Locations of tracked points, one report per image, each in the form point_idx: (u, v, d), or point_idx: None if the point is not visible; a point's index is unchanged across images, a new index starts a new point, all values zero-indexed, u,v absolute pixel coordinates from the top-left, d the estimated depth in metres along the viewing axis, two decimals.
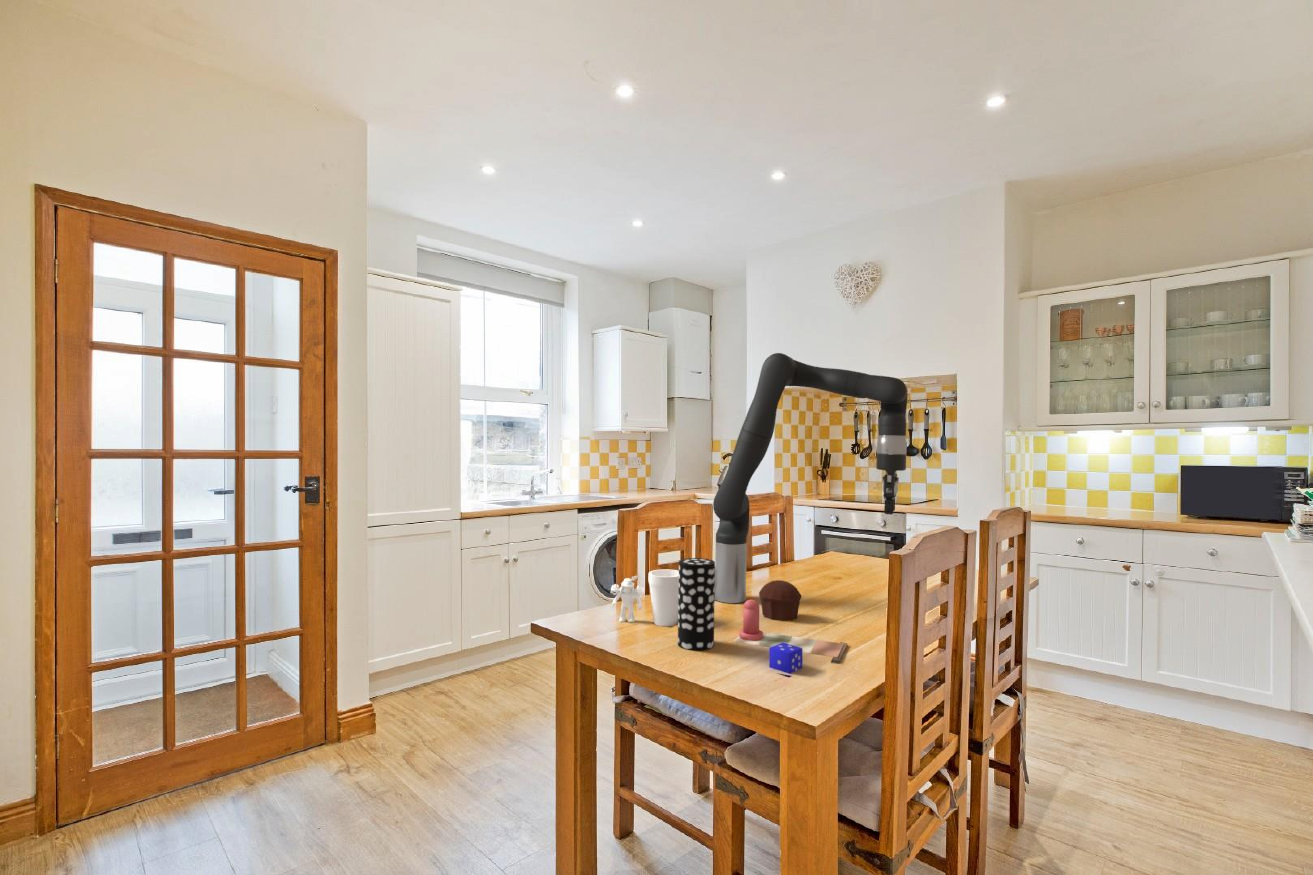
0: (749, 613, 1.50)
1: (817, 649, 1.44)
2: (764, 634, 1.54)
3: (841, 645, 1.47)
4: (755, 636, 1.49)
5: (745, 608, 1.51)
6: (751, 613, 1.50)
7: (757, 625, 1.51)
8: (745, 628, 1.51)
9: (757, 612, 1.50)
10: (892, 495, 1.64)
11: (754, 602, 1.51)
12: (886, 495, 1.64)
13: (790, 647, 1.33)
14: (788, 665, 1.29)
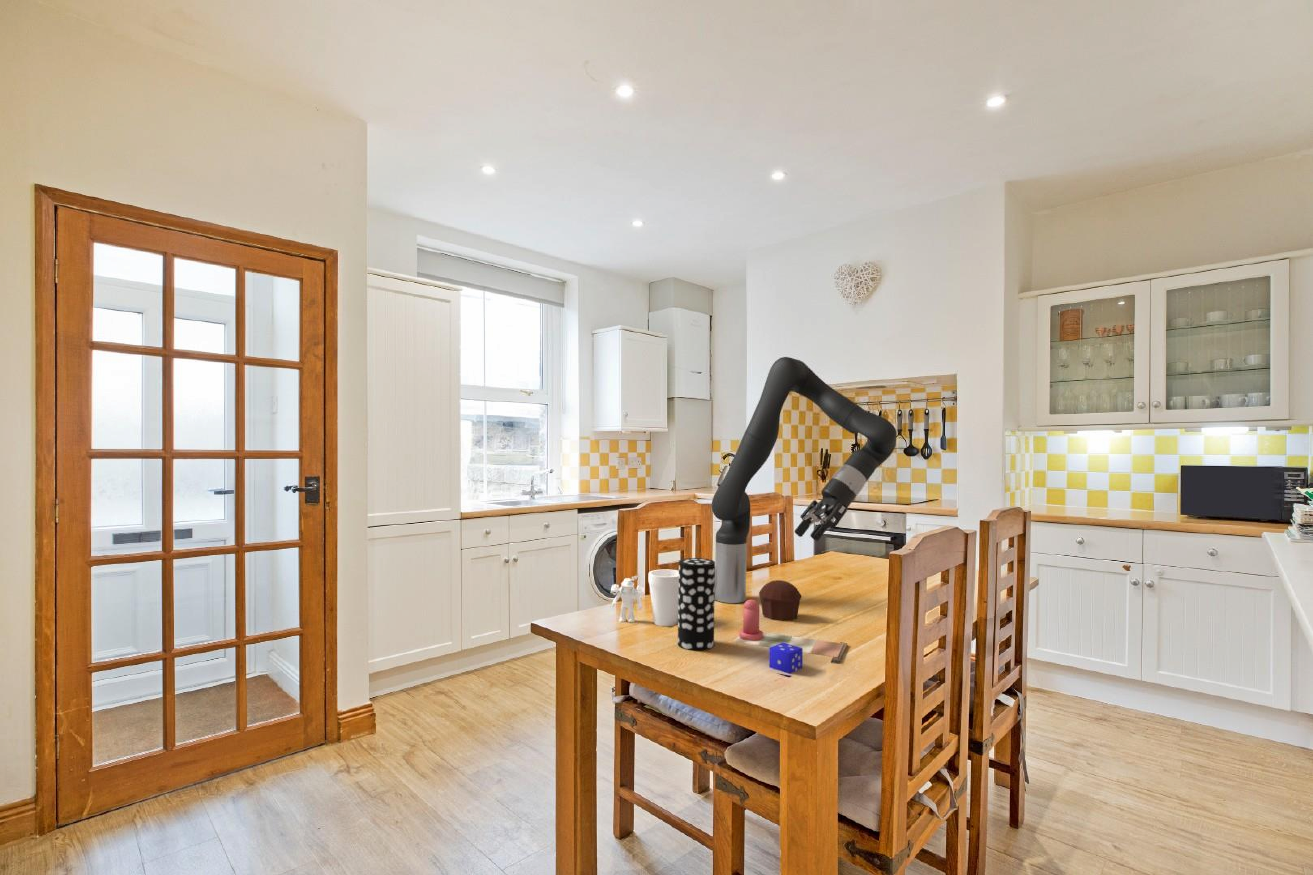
0: (749, 613, 1.50)
1: (817, 649, 1.44)
2: (764, 634, 1.54)
3: (841, 645, 1.47)
4: (755, 636, 1.49)
5: (745, 608, 1.51)
6: (751, 613, 1.50)
7: (757, 625, 1.51)
8: (745, 628, 1.51)
9: (757, 612, 1.50)
10: (834, 525, 1.50)
11: (754, 602, 1.51)
12: (830, 522, 1.50)
13: (790, 647, 1.33)
14: (788, 665, 1.29)
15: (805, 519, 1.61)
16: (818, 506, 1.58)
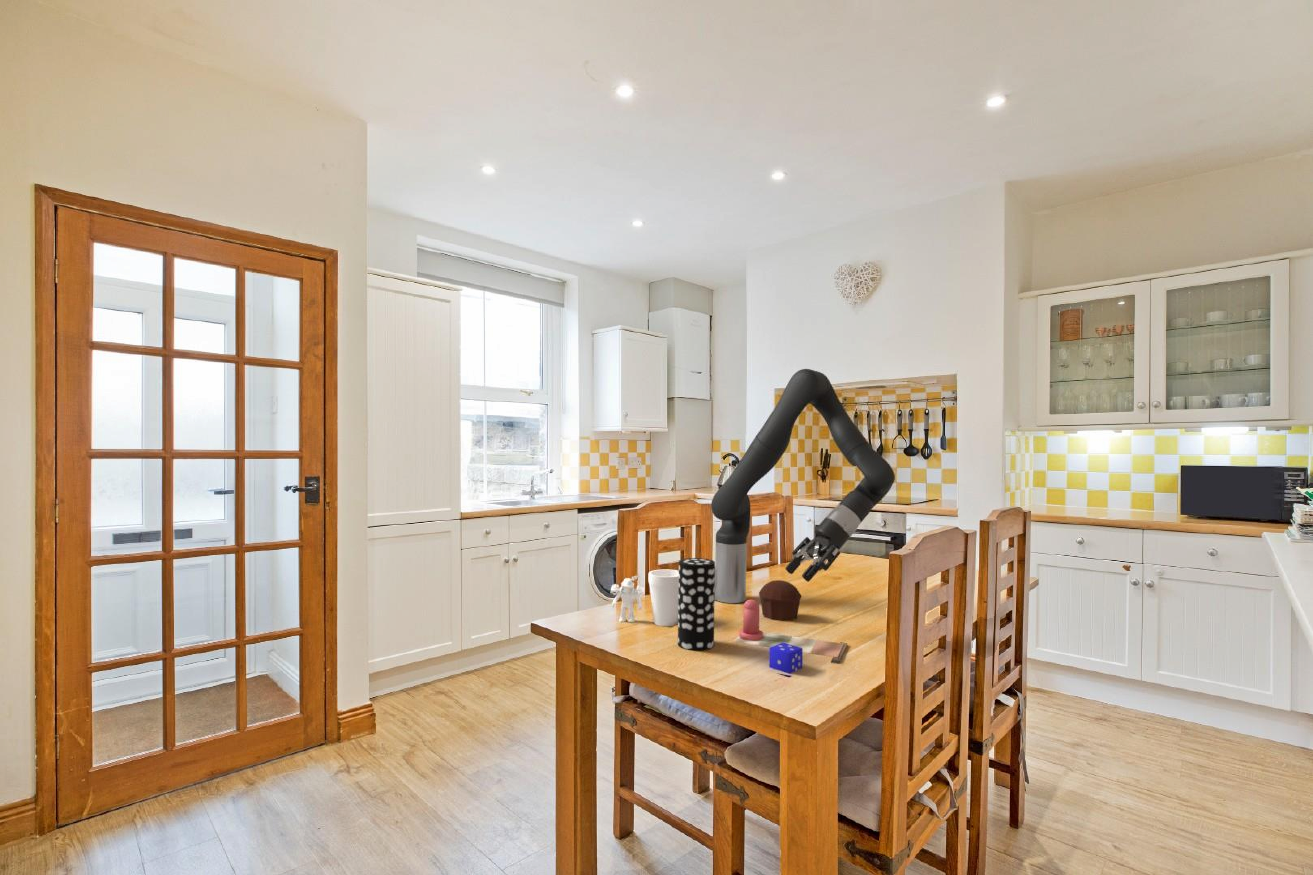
0: (749, 613, 1.50)
1: (817, 649, 1.44)
2: (764, 634, 1.54)
3: (841, 645, 1.47)
4: (755, 636, 1.49)
5: (745, 608, 1.51)
6: (751, 613, 1.50)
7: (757, 625, 1.51)
8: (745, 628, 1.51)
9: (757, 612, 1.50)
10: (827, 567, 1.49)
11: (754, 602, 1.51)
12: (822, 564, 1.49)
13: (790, 647, 1.33)
14: (788, 665, 1.29)
15: (797, 556, 1.60)
16: (811, 545, 1.57)
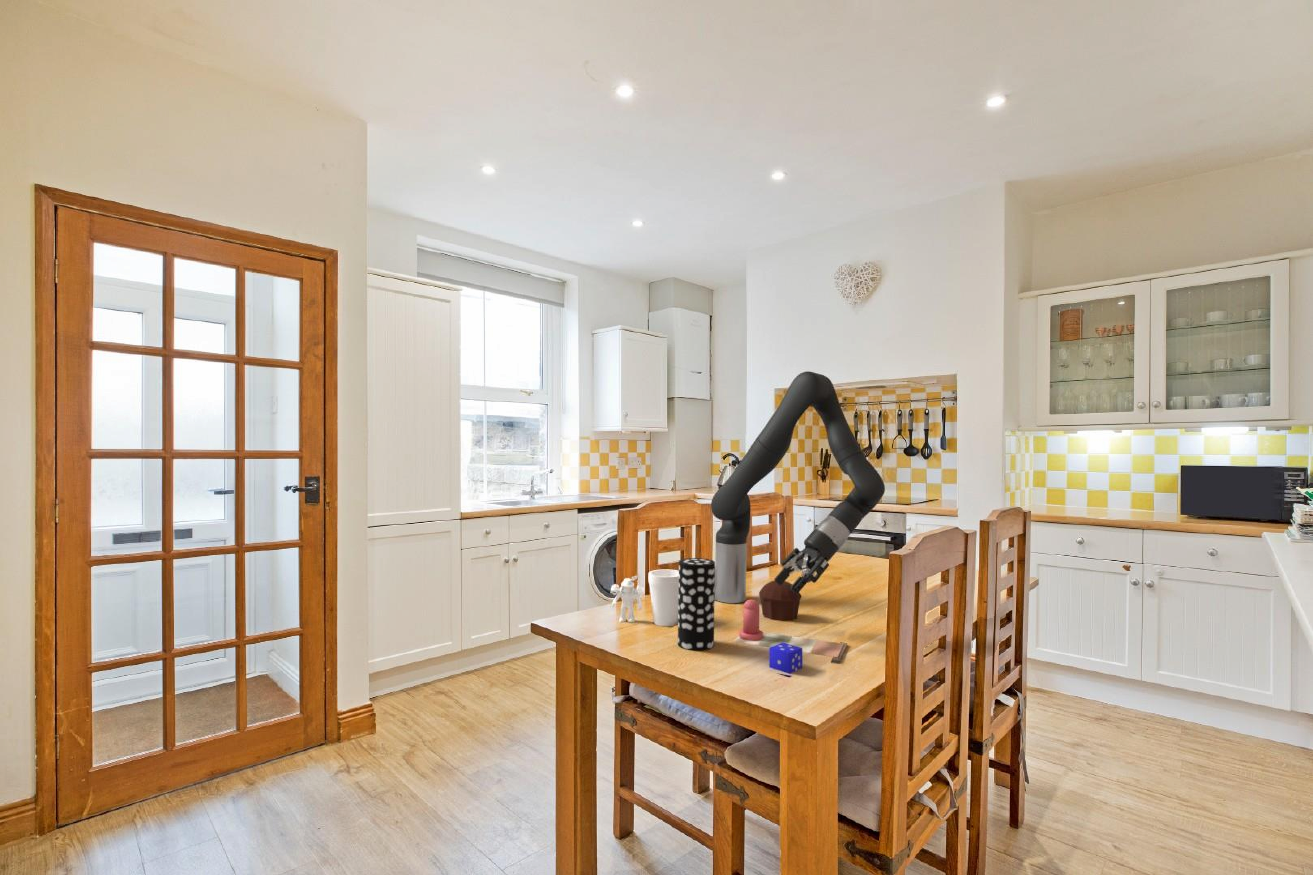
0: (749, 613, 1.50)
1: (817, 649, 1.44)
2: (764, 634, 1.54)
3: (841, 645, 1.47)
4: (755, 636, 1.49)
5: (745, 608, 1.51)
6: (751, 613, 1.50)
7: (757, 625, 1.51)
8: (745, 628, 1.51)
9: (757, 612, 1.50)
10: (815, 580, 1.49)
11: (754, 602, 1.51)
12: (811, 576, 1.48)
13: (790, 647, 1.33)
14: (788, 664, 1.29)
15: (786, 568, 1.59)
16: (800, 556, 1.57)
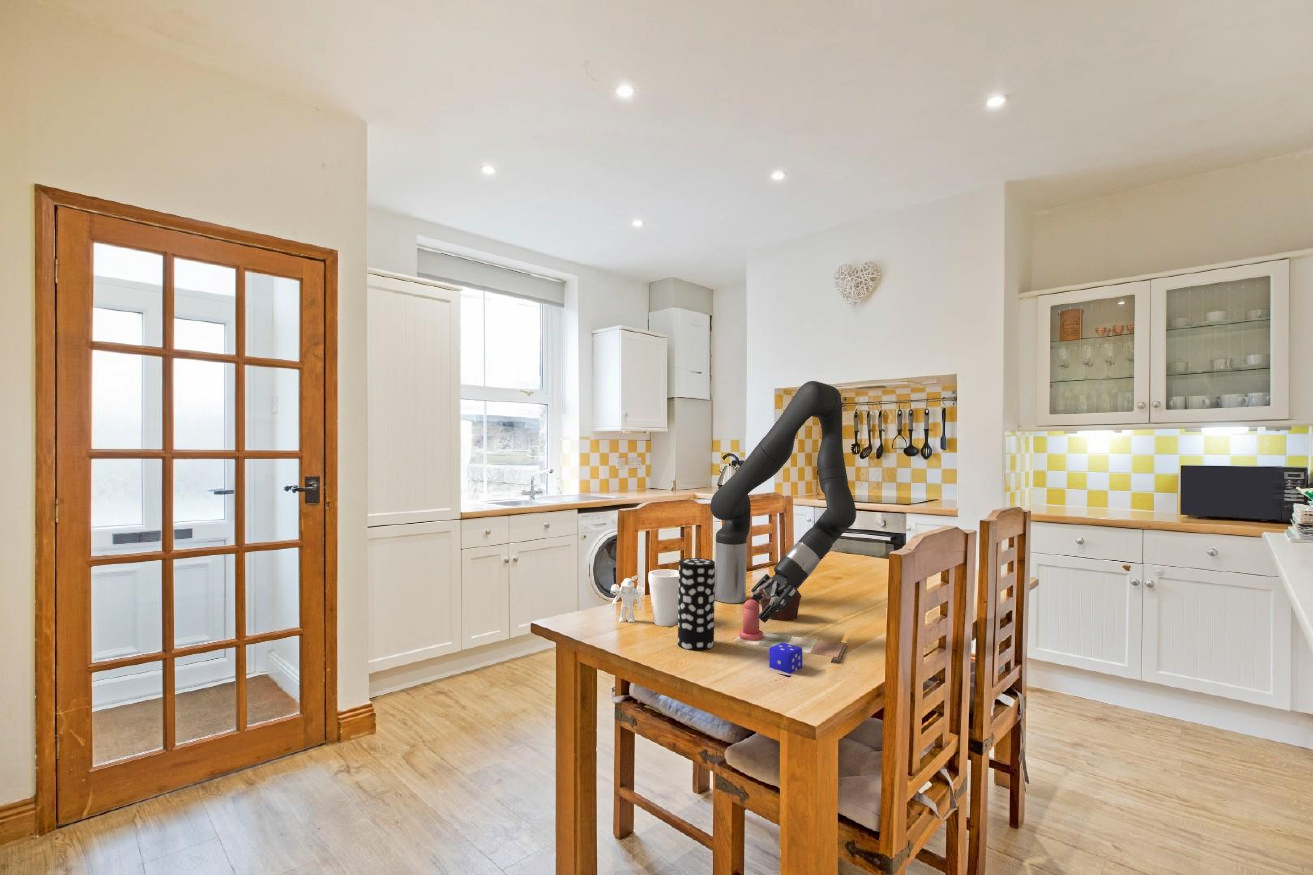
0: (749, 613, 1.50)
1: (817, 649, 1.44)
2: (764, 634, 1.54)
3: (841, 645, 1.47)
4: (755, 636, 1.49)
5: (745, 608, 1.51)
6: (751, 613, 1.50)
7: (757, 625, 1.51)
8: (745, 628, 1.51)
9: (757, 612, 1.50)
10: (783, 609, 1.46)
11: (754, 602, 1.51)
12: (779, 605, 1.46)
13: (790, 647, 1.33)
14: (788, 665, 1.29)
15: (755, 594, 1.57)
16: (769, 583, 1.54)
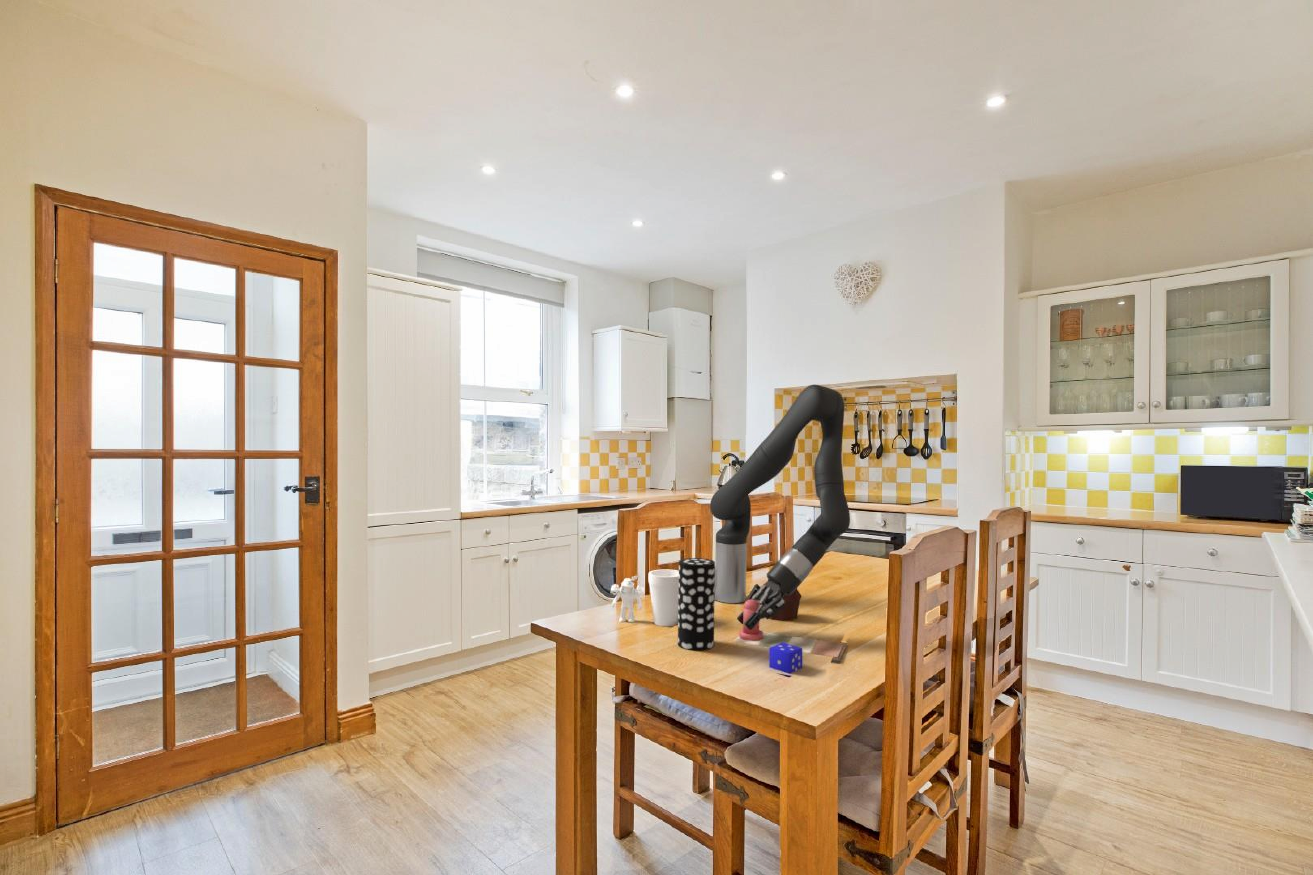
0: (749, 613, 1.50)
1: (817, 649, 1.44)
2: (764, 634, 1.54)
3: (841, 645, 1.47)
4: (755, 636, 1.49)
5: (745, 608, 1.51)
6: (751, 613, 1.50)
7: (757, 625, 1.51)
8: (745, 628, 1.51)
9: None
10: (768, 617, 1.48)
11: (754, 602, 1.51)
12: (764, 612, 1.47)
13: (790, 647, 1.33)
14: (788, 665, 1.29)
15: None
16: (763, 589, 1.54)
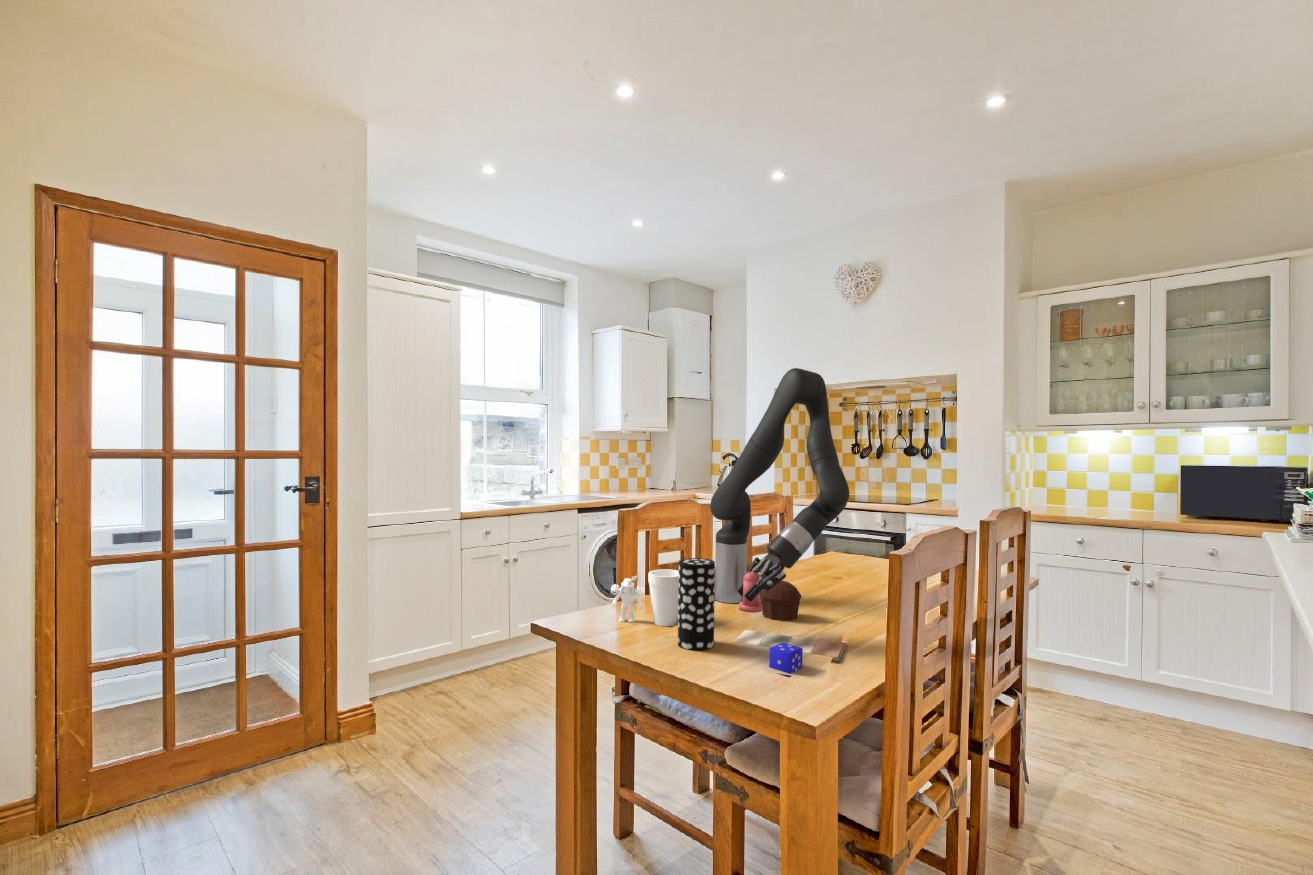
0: (749, 585, 1.50)
1: (817, 649, 1.44)
2: (764, 634, 1.54)
3: (841, 645, 1.47)
4: (755, 608, 1.49)
5: (745, 580, 1.51)
6: (751, 585, 1.50)
7: (757, 597, 1.51)
8: (745, 600, 1.51)
9: None
10: (768, 589, 1.48)
11: (754, 574, 1.51)
12: (764, 584, 1.48)
13: (790, 647, 1.33)
14: (788, 665, 1.29)
15: None
16: (763, 562, 1.54)
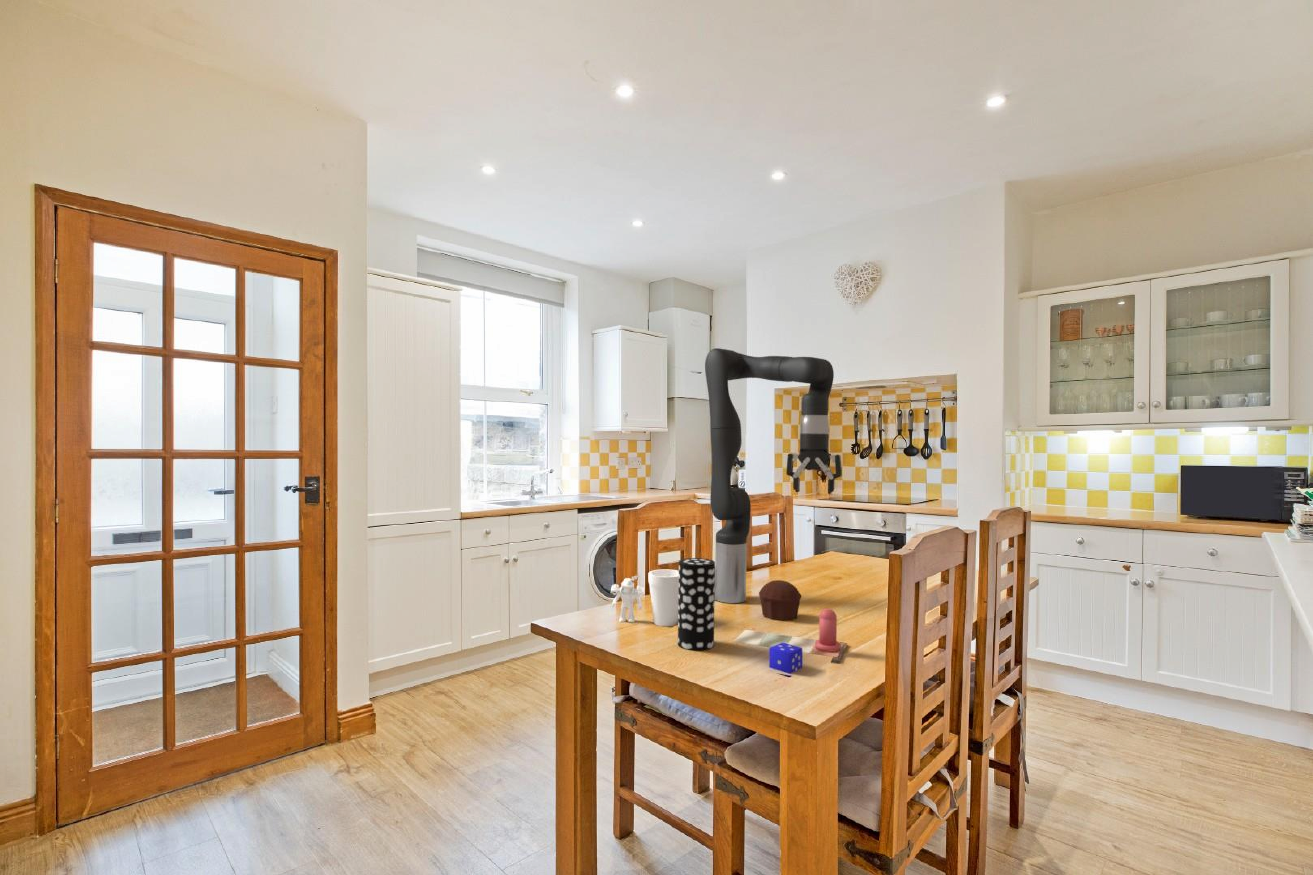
0: (826, 623, 1.43)
1: None
2: (764, 634, 1.54)
3: (841, 645, 1.47)
4: (833, 647, 1.42)
5: (822, 618, 1.43)
6: (828, 623, 1.43)
7: (835, 636, 1.43)
8: (822, 639, 1.43)
9: (835, 622, 1.43)
10: (841, 474, 1.67)
11: (831, 611, 1.43)
12: (840, 475, 1.66)
13: (790, 647, 1.33)
14: (788, 665, 1.29)
15: (797, 476, 1.70)
16: (808, 462, 1.68)
